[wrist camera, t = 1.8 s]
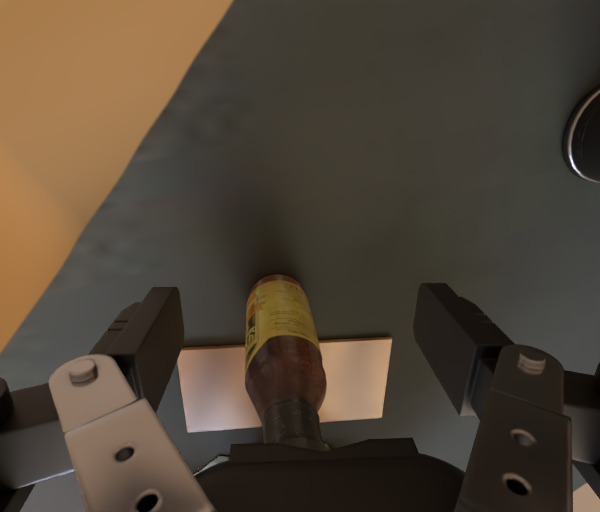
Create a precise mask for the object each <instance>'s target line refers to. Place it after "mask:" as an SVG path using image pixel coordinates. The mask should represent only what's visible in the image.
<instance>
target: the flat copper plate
mask: <svg viewBox="0 0 600 512" xmlns="http://www.w3.org/2000/svg"><path fill="white" fill-rule="evenodd" d="M318 342H319V346H320V350H321V354H322V364H323V368H324V371H325V374H326V381H327V389H326V394H325V398H324V401H323V403H322V406H321V408H320V409H319V411H318V415H319V418H320V422H331V421H345V420H358V419H371V418H382V412H383V404H384V397H385V389H386V382H387V374H388V367H389V359H390V352H391V345H392V338H391V337H374V338H355V339H336V340H318ZM177 364H178V371H179V378H180V385H181V391H182V398H183V405H184V412H185V419H186V426H187V432H200V431H213V430H226V429H240V428H253V427H262V423H261V421H260V418H259V416H258V414H257V412H256V410H255V407H254V405H253V403H252V401H251V399H250V397H249V395H248V393H247V391H246V388H245V344H242V345H223V346H204V347H185V348H182V349H181V352H180V354H179V357H178V359H177Z"/></svg>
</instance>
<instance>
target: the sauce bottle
mask: <svg viewBox="0 0 600 512" xmlns="http://www.w3.org/2000/svg"><path fill="white" fill-rule="evenodd" d="M245 388H246V391H247V393H248V395H249V397H250V399H251V401H252V403H253V405H254V407H255V410H256V412H257V414H258V416H259V418H260V421H261V423H262V430H263V441H264V443H281V444H286V445H291V446H297V447H302V448H307V449H312V450H318V451H327V449H326V447H325V446H324V444H323V441H322V436H321V431H320V418H319V415H318V411H319V409H320V408H321V406H322V403H323V401H324V398H325V394H326V389H327V381H326V374H325V371H324V368H323V364H322V354H321V350H320V346H319V342H318V338H317V335H316V331H315V326H314V322H313V319H312V314H311V311H310V307H309V303H308V299H307V296H306V294H305V291H304V290H303V288H302V286H301V285H300V284H299V283H298V282H297V281H296V280H294V279H293V278H291V277H289V276H286V275H283V274H280V275H278V274H274V275H269V276H266V277H264V278H262V279H260V280H259V281H258V282H257V283H256V284H255V285H254V286H253V287H252V289H251V292H250V294H249V299H248V302H247V314H246V344H245Z"/></svg>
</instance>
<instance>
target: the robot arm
mask: <svg viewBox="0 0 600 512" xmlns="http://www.w3.org/2000/svg"><path fill="white" fill-rule="evenodd" d="M563 156H564V160H565V162H566V165H567V166H568V168H569V169H570V171H571V172H572V173H573V174H575V175H576V176H578V177H579V178H582V179H585V180H589V181H593V182H600V86H598V87H597V88H595V89H594V90H593V91H591V92H590V93H589V94H588V95H587V96H586V97H585V98H584V99H583V100H582V101H581V102H580V103H579V105H578V106H577V107H576V109H575V110H574V112H573V114H572V115H571V117H570V119H569V121H568V124H567V126H566V129H565V133H564V137H563ZM413 329H414V336H415V340H416V342H417V344H418V346H419V347H420V349H421V351H422V352H423V354H424V356H425V358H426V359H427V361H428V363H429V364H430V366H431V368H432V369H433V371H434V373H435V375H436V376H437V378H438V380H439V381H440V383H441V385H442V387H443V388H444V390H445V392H446V393H447V395H448V397H449V399H450V400H451V402H452V404H453V405H454V407H455V409H456V410H457V412H458V414H459V416H478V418H479V420H480V423H479V427H478V430H477V434H476V437H475V441H474V444H473V448H472V451H471V455H470V458H469V462H468V465H467V469H466V472H463V471H462V470H460V469H459V468H457V467H455V466H453V465H451V464H449V463H447V462H445V461H442V460H440V459H437V458H435V457H432V456H428V455H425V454H420V453H418V450H417V448H416V445H415V443H414V440H413V438H392V439H368V440H365V441H361V442H358V443H354V444H350V445H347V446H343V447H340V448H336V449H333V450H329V451H318V450H312V449H307V448H302V447H297V446H291V445H286V444H281V443H254V444H231V449H230V456H229V460H227V461H224V462H221V463H218V464H216V465H213V466H211V467H209V468H207V469H205V470H203V471H201V472H199V473H198V474H196V475H195V476H194V475H193V473H192V472H191V470H190V468H189V467H188V465H187V463H186V462H185V460H184V459H183V457H182V455H181V454H180V452H179V451H178V449H177V447H176V446H175V444H174V442H173V441H172V439H171V438H170V436H169V434H168V433H167V431H166V430H165V428H164V426H163V425H162V423H161V421H160V420H159V418H158V417H157V415H156V411H157V409H158V406H159V404H160V401H161V399H162V396H163V394H164V392H165V389H166V387H167V384H168V382H169V379H170V377H171V374H172V372H173V369H174V367H175V364H176V362H177V359H178V357H179V354H180V352H181V349H182V347H183V342H184V325H183V317H182V309H181V301H180V294H179V290H178V288H177V287H153V288H152V289H151V290H150V291H149V293H148V294H147V295H146V297H145V298H144V300H143V301H142V302H135V303H134V304H132V305H130V306H129V307H127V308H126V309H124V310H123V311H121V313H120V314H119V315H118V317H117V318H116V319H115V321H114V323H112V324H111V326H110V327H109V328H108V331H106V332H105V333H104V335H103V336H102V337H101V339H100V340H99V341H98V343H97V344H96V345H95V346H94V348H93V349H92V350H91V352H90V353H89V354H88V355H86V356H82V357H78V358H76V359H73V360H71V361H69V362H67V363H65V364H63V365H62V366H60V367H59V368H58V369H57V370H56V371H55V372H54V373H53V374H52V375H51V377H50V379H49V383H47V384H43V385H39V386H35V387H30V388H26V389H21V390H17V391H13V392H10V391H9V388H8V386H7V383H6V381H5V380H4V379H2V378H0V512H20V510H21V508H22V506H23V505H24V503H25V501H26V500H27V498H28V496H29V494H30V493H31V491H32V489H33V488H34V486H35V484H36V483H37V482H40V481H43V480H47V479H50V478H53V477H56V476H60V475H63V474H66V473H69V472H73V471H75V475H76V478H77V481H78V485H79V488H80V491H81V495H82V498H83V501H84V505H85V508H86V511H87V512H573V482H572V463H573V464H574V466H575V467H576V468H577V470H578V471H579V472H580V474H581V475H582V476H583V478H584V479H585V480H586V482H587V483H588V484H589V485H590V487H591V488H592V489H593V491H594V492H595V493H596V495H597V496H598V497H599V499H600V363H599V365H598V367H597V370H596V372H595V375H588V374H582V373H577V372H571V371H565V370H564V368H563V366H562V365H561V363H560V362H559V361H558V360H557V359H555V358H554V357H553V356H551V355H550V354H548V353H546V352H544V351H542V350H539V349H537V348H534V347H530V346H526V345H518V344H514V343H513V342H512V341H511V340H510V339H509V338H508V337H507V336H506V335H505V334H504V333H503V332H502V331H501V330H500V329H499V328H498V327H497V326H496V325H495V324H494V323H492V321H491V320H490V319H489V318H488V317H487V316H486V315H484V313H483V312H482V311H481V310H480V309H479V308H478V307H477V306H476V305H475V304H474V303H472V302H470V301H468V300H466V299H465V298H463V297H458V295H457V294H456V293H455V292H454V291H453V290H452V289H451V288H450V287H449V286H448V285H447V284H446V283H422V284H421V285H420V287H419V291H418V297H417V304H416V311H415V317H414V325H413Z"/></svg>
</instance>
